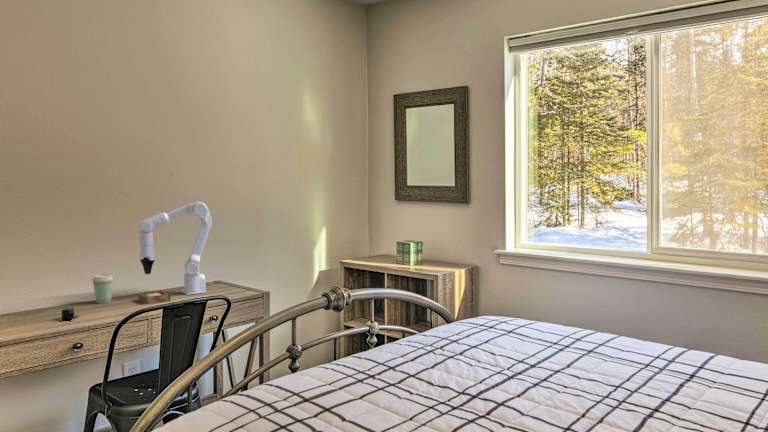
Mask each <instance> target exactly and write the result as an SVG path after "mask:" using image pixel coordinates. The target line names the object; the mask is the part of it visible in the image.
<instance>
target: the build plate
mask: <svg viewBox="0 0 768 432" xmlns="http://www.w3.org/2000/svg"><path fill="white" fill-rule="evenodd" d="M78 316H79V315H75V311H74V307H64V308H63V309H61V318H60V319H58V320H57V321H70V320H72V319H74V320H75V319H77V318H79V317H78ZM72 321H73V320H72ZM70 322H71V321H70Z"/></svg>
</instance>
